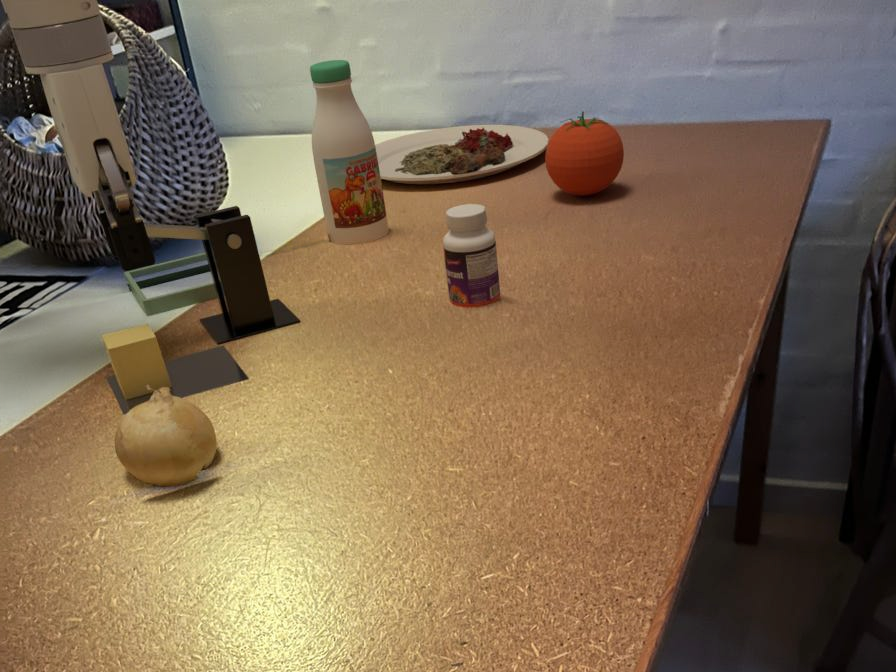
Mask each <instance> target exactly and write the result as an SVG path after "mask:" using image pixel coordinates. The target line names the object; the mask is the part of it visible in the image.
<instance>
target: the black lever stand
mask: <svg viewBox="0 0 896 672" xmlns="http://www.w3.org/2000/svg"><path fill="white" fill-rule="evenodd" d="M194 217H195V220H196V224H197V227H205V229H206V232H207V236H208V240H201V242H202V245H203V249H204V253H206V257H207V260H206V261H207V264H209V268H210V272H209V273H210V276H211V278H212V279H211V280H212V282H213V283H214V286H215V290H216V293H217V297H218V298H217V300H218V304H219V307H220V313H218V314H214V315H211V316H208V317H204V318H199V320H198V321H199V323H200V324H201V325H202V326H203V328H204V329H205V330H206V332H207V333H208V335H209V336H210V337H211V338H212V340H213V341H214V342H215V344H216V345H217V346H221V345H223V344H227V343H230V342H234V341H237V340H238V341H239V340H241V339H245V338H249V337H252V336H256V335H260V334H264V333H267V332H272V331H274V330H278V329H282V328H286V327H289V326H293V325H297V324H300V323H301V320H300V319H299V317H298V316H297V315H295V314H294V313H293V311H291V309H290V308H288V307H287V306H286V305H285V304H284V302H282V300H281V299H279V298H276V299H272V300H271V297H270V294H269V291H268V286H267V282H266V278H265V273H264V269H263V265H262V261H261V256H260V253H259V252H260V251H259V249H258V245H257V239H256V235H255V231H254V228H253V224H252V220H251V216H250V215H249V214H243V215H242V212H241V208H240V207H239V206H238V205H234V206H230V207H225V208H222V209H216V210H212V211H208V212H203V213H200V214H199V213H198V214H196V215H195V216H194ZM211 219H224V220H222V221H217V222H213V223H211Z"/></svg>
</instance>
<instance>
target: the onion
mask: <svg viewBox="0 0 896 672" xmlns="http://www.w3.org/2000/svg"><path fill="white" fill-rule="evenodd" d="M146 386H147V387H146V388H147V389H148V390H149V392H151V391H153V395H152V396H151V398H150V400H149V401H147V402H145V403H142V404H140V405H137V406H136V407H134V408H133V409H131V410H130V411H129V412H128V413H127V414H125V415H123V417H121V419H120V421H119V422H118V425H117V428H116V430H115V434H114V451H115V454H116V457H117V459H118V460H119V463H120V464H122V466H123V467H124V468H125V470H126V471H128V473H130V475H132V476H133V477H134V478H136V479H137V480H139V481H140V482H144V483H145V484H150V485H152V486H153V487H157V488H168V487H170V488H171V487H173V486H180V485H183V484H189V483H191V482H194V481H195V480H197V479H199V476H197V475H198V474H200V473H201V471H202V470H207V468H208V467H210V465H212V464H213V460H214V458H215V456H216V452H217V448H218V447H217V445H218V441H217V436H216V431H215V428H214V424H213V423H212V421H211V420H210V417H208V415H207V414H206V413H205V412H204V411H203V410H202V409H201V408H200V407H198V406H197V405H196V404H195V403H194V402H193V403H192V402H191V401H189V400H187V399H185V398H180V397H176V396H171V393H170V388H165V387H162V388H160V389H159V390H154V389H152V388H151V387H149V385H146Z"/></svg>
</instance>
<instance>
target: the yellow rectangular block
mask: <svg viewBox="0 0 896 672" xmlns="http://www.w3.org/2000/svg"><path fill="white" fill-rule="evenodd" d="M100 336H101V340H102V342H103V345H104V347H105V350H106V354H107V356H108V360H109V362H110V364H111V367H112V370H113V373H114V375H115V376H116V378H117V381H118V384H119V386H120V388H121V390H122V392H123V395H124V397H125V399H126V400H128V399H132V398H135V397H139V396H142V395H146V394H149V393H153V391H151V392H149V390H148V389H147V388H146V387H147V386H146V385H149V387H151V388H152V389H154V390H159V389H160V388H162V387H165V388H171V387H172V385H171V382H170V379H169V375H168V372H167V369H166V366H165V363H164V361H165V360H164V356H163V354H162V350H161V348H160V345H159V341H158V338H157V336H156V334H155V333H154V331H153V329H152V328H151V327H150V324H149V323H145V324H144V323H143V324H140V325H137V326H133V327H129V328H124V329H122V330H117V331H113V332H110V333H106V334H103V335H102V334H101V335H100Z"/></svg>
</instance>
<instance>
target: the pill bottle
mask: <svg viewBox="0 0 896 672" xmlns="http://www.w3.org/2000/svg"><path fill="white" fill-rule="evenodd" d="M445 216H446V218H445V219H446V226H447V228H448V229H449V231H448V232H447V233H446V234H445V235H444V236H443V239H442V249H443V257H444V258H443V259H444V264H445V265H444V266H445V273H446V274H445V275H446V281H447V289H448V291H447V292H448V299H449V302H450V303H451V305H453V306H456V307H461V308H476V307H482V306H483V307H484V306H487V305H490V304H492V303H495V302H496V301H498V300H499V299H501V286H500V275H499V263H498V252H497V242H496V235H495V233H494V231H493V230H492V229H491V228H489V227H487V226H486V225H487V223H488V218H487V211H486V207H485V206H484V205H483V204H479V203H478V204H477V203H466V204H459V205H456V206H453V207H451V208H449V209H447V210H446V212H445Z"/></svg>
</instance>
